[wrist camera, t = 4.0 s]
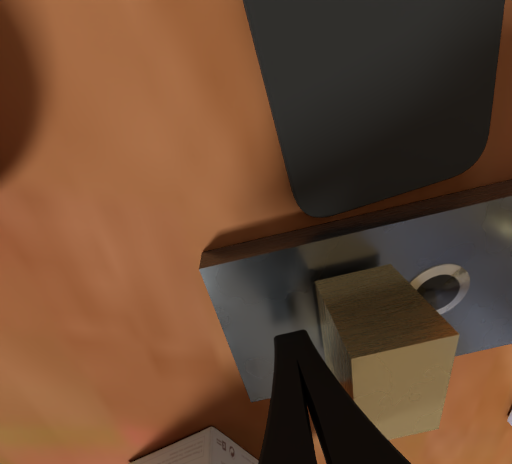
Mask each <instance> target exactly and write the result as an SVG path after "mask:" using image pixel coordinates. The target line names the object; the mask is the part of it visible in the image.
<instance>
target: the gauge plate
mask: <svg viewBox="0 0 512 464" xmlns="http://www.w3.org/2000/svg"><path fill="white" fill-rule="evenodd" d="M387 264H391V265H392V266H393V267H394V268H395V269H396V270H397V271H398V272H399V273H400V274H401V275H402V276H403V277H404V278H405V279H406V280H407V281H408V282H409V283H410V284H411V285H412V286H413V287H414V288H415V289H416V290H417V291H418V292H419V293H420V294H421V295H422V297H423V298H424V299H425V300H426V301H427V302H428V303H429V304H430V305H431V306H432V307H433V308H434V309H435V310H436V311H437V312H438V313H439V314H440V315H441V316H442V317H443V318H444V319H445V320H446V321H447V322H448V323H449V324H450V325H451V326H452V327H453V328H454V329H455V330H456V331H457V332H458V333H459V334H460V335H459V339H458V344H457V348H456V352H455V356H459V355H463V354H468V353H472V352H477V351H481V350H485V349H490V348H494V347H499V346H503V345H508V344H512V180H508V181H504V182H500V183H495V184H491V185H487V186H483V187H478V188H474V189H470V190H466V191H461V192H457V193H453V194H449V195H444V196H440V197H436V198H432V199H427V200H423V201H419V202H415V203H410V204H406V205H402V206H398V207H393V208H389V209H385V210H381V211H376V212H372V213H368V214H363V215H359V216H355V217H351V218H346V219H342V220H338V221H334V222H329V223H325V224H321V225H317V226H312V227H308V228H304V229H300V230H295V231H291V232H287V233H283V234H278V235H274V236H270V237H266V238H261V239H257V240H253V241H249V242H244V243H240V244H236V245H232V246H227V247H223V248H219V249H215V250H210V251H206V252H202V255H201V261H200V267H199V270H200V273H201V275H202V278H203V280H204V283H205V285H206V288H207V290H208V293H209V296H210V298H211V301H212V303H213V306H214V308H215V311H216V314H217V316H218V319H219V321H220V324H221V326H222V329H223V331H224V334H225V337H226V339H227V342H228V344H229V347H230V349H231V352H232V354H233V357H234V360H235V362H236V365H237V367H238V370H239V372H240V375H241V378H242V380H243V383H244V385H245V388H246V390H247V393H248V395H249V398H250V401H251V402H255V401H259V400H264V399H268V398H271V393H272V383H273V374H274V337H275V336H277V335H281V334H285V333H290V332H294V331H298V330H303V329H304V330H306V331H307V333H308V335H309V337H310V339H311V341H312V342H313V344H314V346H315V348H316V349H317V351H318V352H319V354H320V356H321V357H322V359H323V360H324V362H325V363H326V361H325V354H324V346H323V339H322V332H321V324H320V317H319V310H318V302H317V295H316V288H315V281H318V280H323V279H327V278H331V277H336V276H340V275H344V274H349V273H353V272H357V271H362V270H366V269H370V268H374V267H379V266H383V265H387Z"/></svg>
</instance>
